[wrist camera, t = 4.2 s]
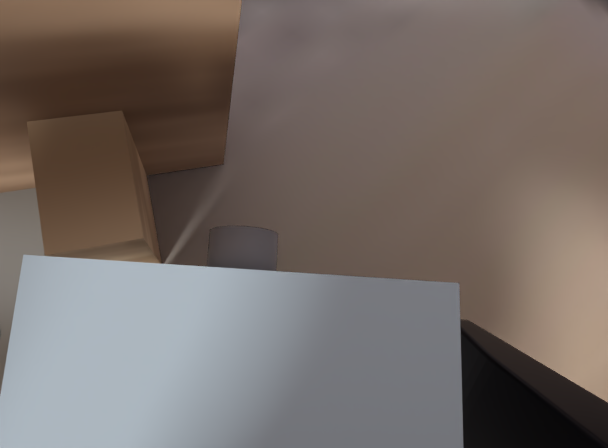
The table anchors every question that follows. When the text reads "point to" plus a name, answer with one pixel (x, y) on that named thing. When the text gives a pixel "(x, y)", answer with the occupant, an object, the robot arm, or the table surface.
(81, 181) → the brown angular stand
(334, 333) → the pale blue beveled prism
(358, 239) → the table surface
